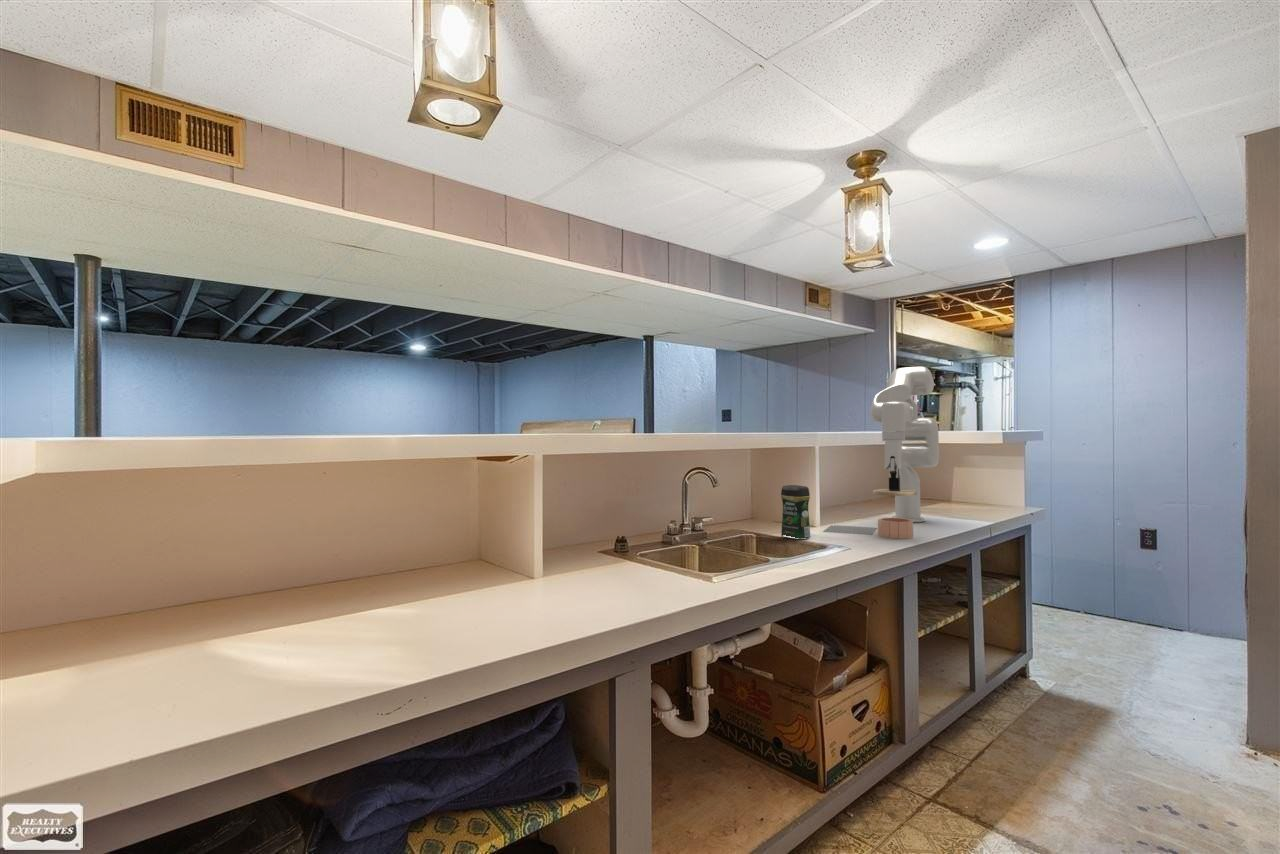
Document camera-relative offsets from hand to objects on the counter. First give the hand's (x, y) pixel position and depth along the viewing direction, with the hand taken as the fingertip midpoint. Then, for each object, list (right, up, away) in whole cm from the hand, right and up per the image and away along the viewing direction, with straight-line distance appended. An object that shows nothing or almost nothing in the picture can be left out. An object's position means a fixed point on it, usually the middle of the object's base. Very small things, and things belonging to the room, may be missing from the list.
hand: (894, 488), depth 206 cm
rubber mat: (-11, -17, +13) cm, 24 cm away
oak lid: (0, -2, 0) cm, 2 cm away
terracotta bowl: (0, -17, 0) cm, 17 cm away
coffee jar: (-35, -18, +1) cm, 39 cm away
